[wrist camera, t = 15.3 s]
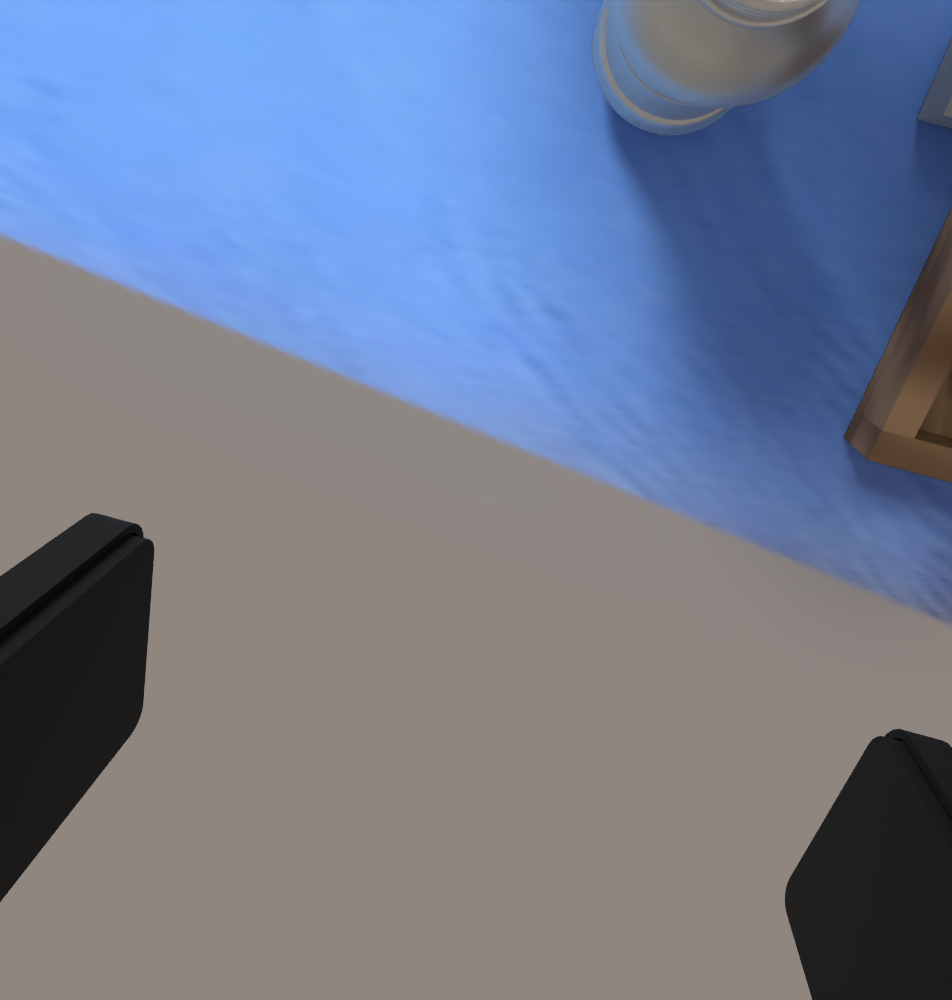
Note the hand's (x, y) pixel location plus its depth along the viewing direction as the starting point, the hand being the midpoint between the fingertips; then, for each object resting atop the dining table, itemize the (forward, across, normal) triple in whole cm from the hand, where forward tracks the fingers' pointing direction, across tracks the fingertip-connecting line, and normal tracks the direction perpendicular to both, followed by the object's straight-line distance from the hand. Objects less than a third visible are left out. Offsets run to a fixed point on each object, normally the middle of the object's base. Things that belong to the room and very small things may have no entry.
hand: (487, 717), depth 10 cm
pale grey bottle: (+31, -2, -12) cm, 33 cm away
